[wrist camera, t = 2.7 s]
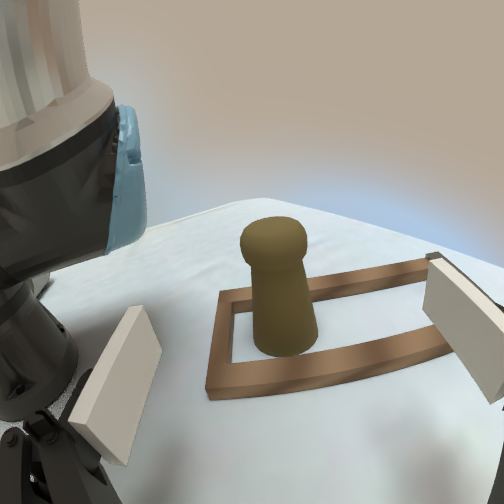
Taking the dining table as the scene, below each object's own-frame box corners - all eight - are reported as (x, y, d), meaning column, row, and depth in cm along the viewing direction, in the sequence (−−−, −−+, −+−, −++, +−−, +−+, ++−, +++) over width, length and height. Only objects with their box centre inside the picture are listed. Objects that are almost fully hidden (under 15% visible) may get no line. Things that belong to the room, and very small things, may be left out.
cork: (301, 308, 30) (290, 204, 25) (330, 341, 24) (326, 222, 20) (245, 326, 28) (223, 220, 24) (266, 366, 23) (243, 244, 19)
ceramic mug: (57, 279, 47) (43, 243, 44) (42, 300, 40) (24, 260, 37) (21, 290, 46) (6, 257, 43) (4, 310, 38) (-13, 274, 35)
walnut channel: (210, 400, 20) (204, 388, 20) (222, 301, 33) (219, 291, 33) (488, 337, 19) (492, 324, 18) (424, 268, 32) (425, 257, 31)
